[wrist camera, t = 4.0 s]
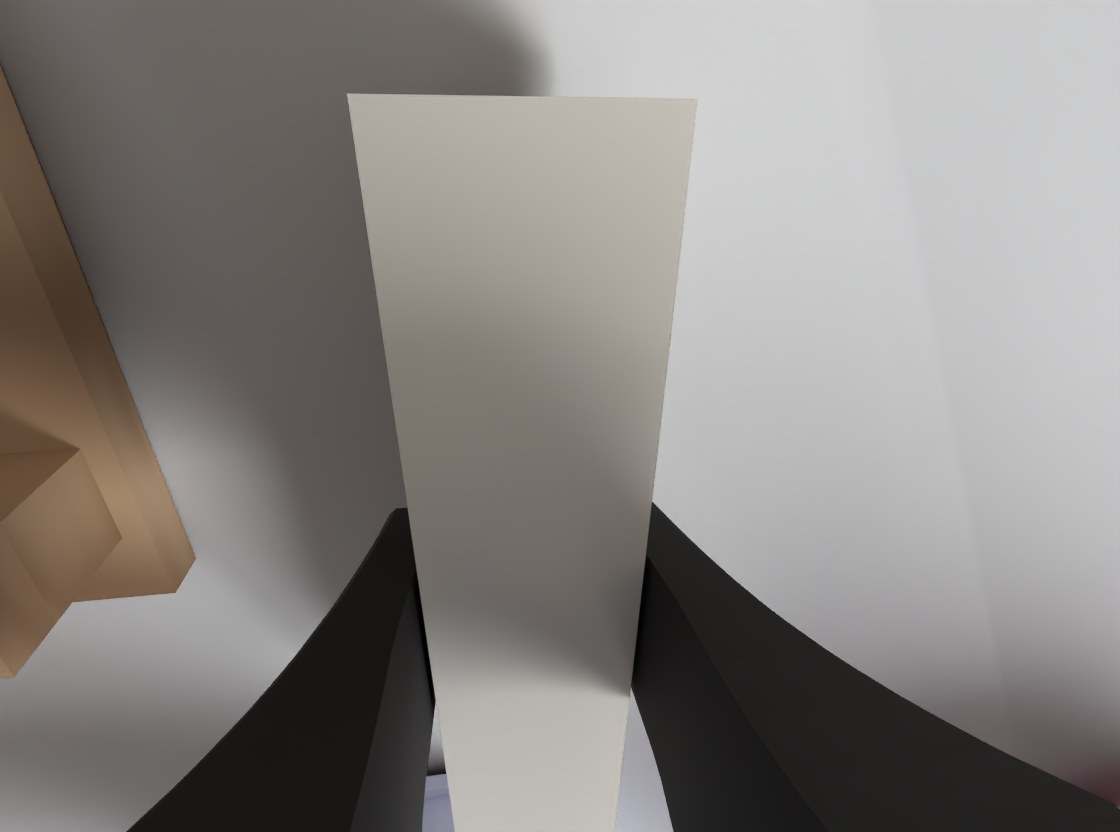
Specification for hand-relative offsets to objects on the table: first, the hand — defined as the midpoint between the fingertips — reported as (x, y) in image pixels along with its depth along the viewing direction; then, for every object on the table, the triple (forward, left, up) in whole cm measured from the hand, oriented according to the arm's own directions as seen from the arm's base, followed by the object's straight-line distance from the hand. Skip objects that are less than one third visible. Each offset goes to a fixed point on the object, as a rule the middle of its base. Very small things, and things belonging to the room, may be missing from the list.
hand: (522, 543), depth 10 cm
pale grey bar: (0, 0, -2) cm, 2 cm away
